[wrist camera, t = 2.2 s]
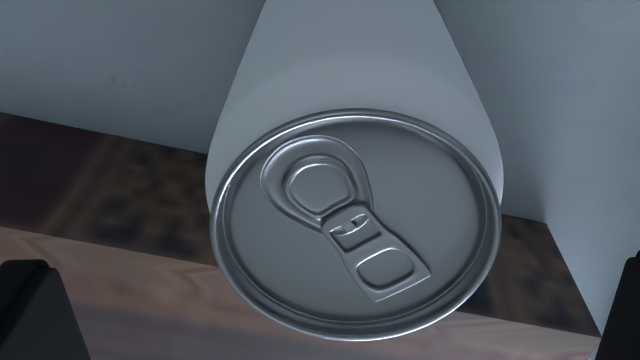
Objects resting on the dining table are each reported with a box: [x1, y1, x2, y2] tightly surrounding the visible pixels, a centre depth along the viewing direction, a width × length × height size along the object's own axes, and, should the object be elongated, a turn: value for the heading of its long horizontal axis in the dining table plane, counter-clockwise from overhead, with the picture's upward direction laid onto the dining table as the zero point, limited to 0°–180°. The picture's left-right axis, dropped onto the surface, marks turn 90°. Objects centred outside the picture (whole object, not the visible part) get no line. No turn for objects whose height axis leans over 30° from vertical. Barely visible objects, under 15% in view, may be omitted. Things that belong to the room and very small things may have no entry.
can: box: [205, 0, 504, 341], centre depth 16 cm, size 6×6×12 cm
